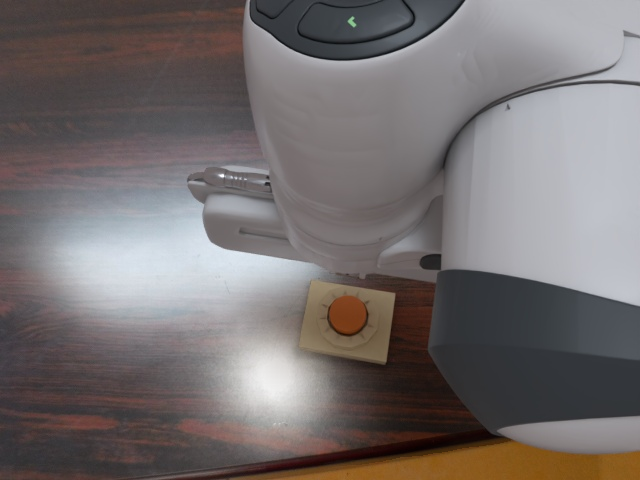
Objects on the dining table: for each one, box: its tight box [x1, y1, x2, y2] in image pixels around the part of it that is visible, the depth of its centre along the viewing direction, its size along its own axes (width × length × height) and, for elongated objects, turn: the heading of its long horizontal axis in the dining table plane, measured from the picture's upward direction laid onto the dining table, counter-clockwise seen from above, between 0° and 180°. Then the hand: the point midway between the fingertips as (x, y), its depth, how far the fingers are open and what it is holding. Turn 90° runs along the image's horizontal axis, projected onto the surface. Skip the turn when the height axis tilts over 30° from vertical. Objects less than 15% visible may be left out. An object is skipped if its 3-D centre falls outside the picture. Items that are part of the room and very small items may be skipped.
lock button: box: [330, 295, 366, 334], centre depth 59 cm, size 4×4×2 cm
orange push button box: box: [297, 279, 396, 366], centre depth 61 cm, size 10×8×4 cm
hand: (349, 267), depth 44 cm, fingers closed
